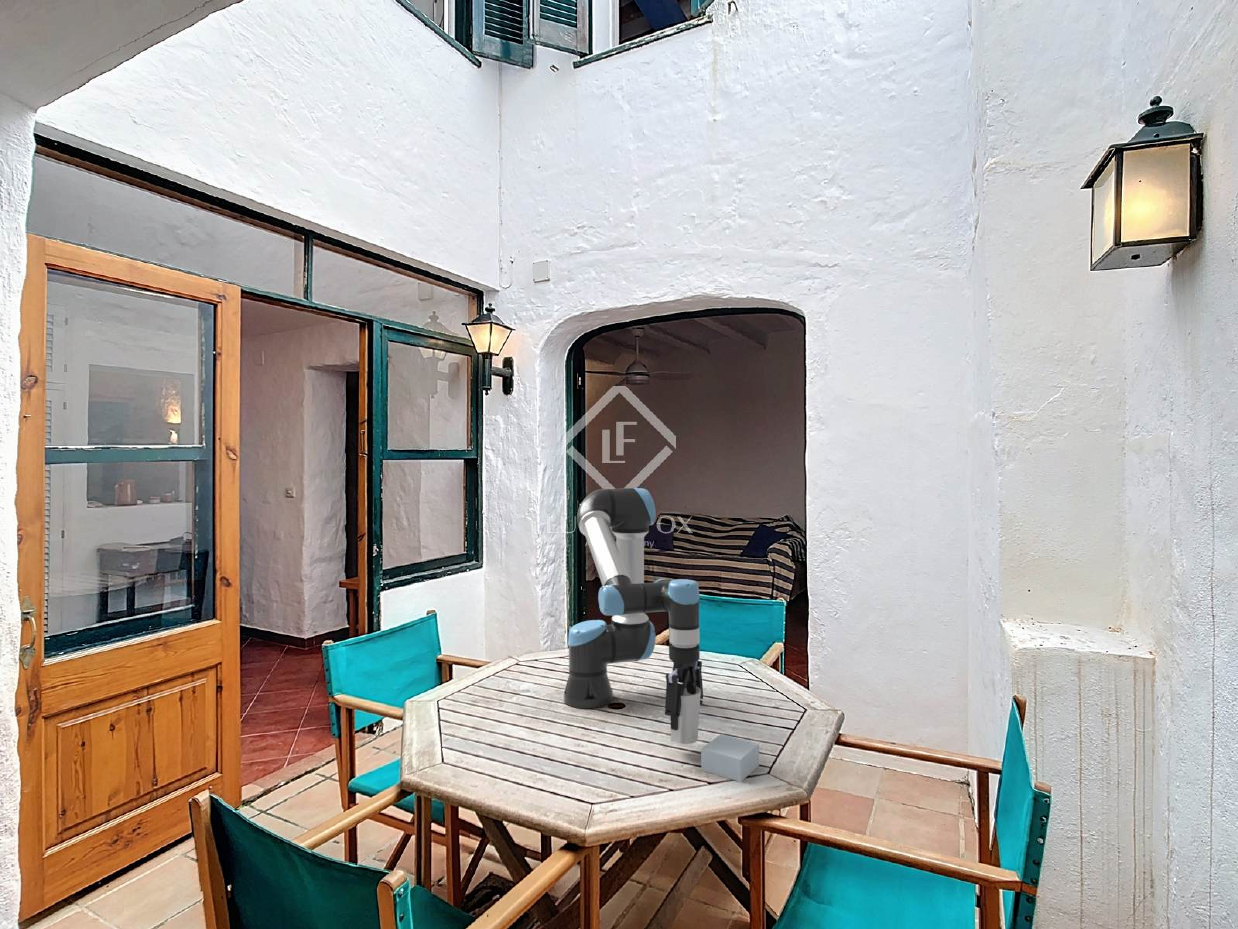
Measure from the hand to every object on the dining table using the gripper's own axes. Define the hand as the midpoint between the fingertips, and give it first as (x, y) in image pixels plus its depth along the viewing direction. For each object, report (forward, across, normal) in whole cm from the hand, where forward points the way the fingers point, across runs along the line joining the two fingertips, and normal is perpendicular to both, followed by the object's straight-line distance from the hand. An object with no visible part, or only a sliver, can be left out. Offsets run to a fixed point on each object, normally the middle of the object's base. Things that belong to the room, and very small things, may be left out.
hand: (684, 735), depth 158 cm
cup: (+1, 0, 0) cm, 1 cm away
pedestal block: (+4, 0, +13) cm, 13 cm away
